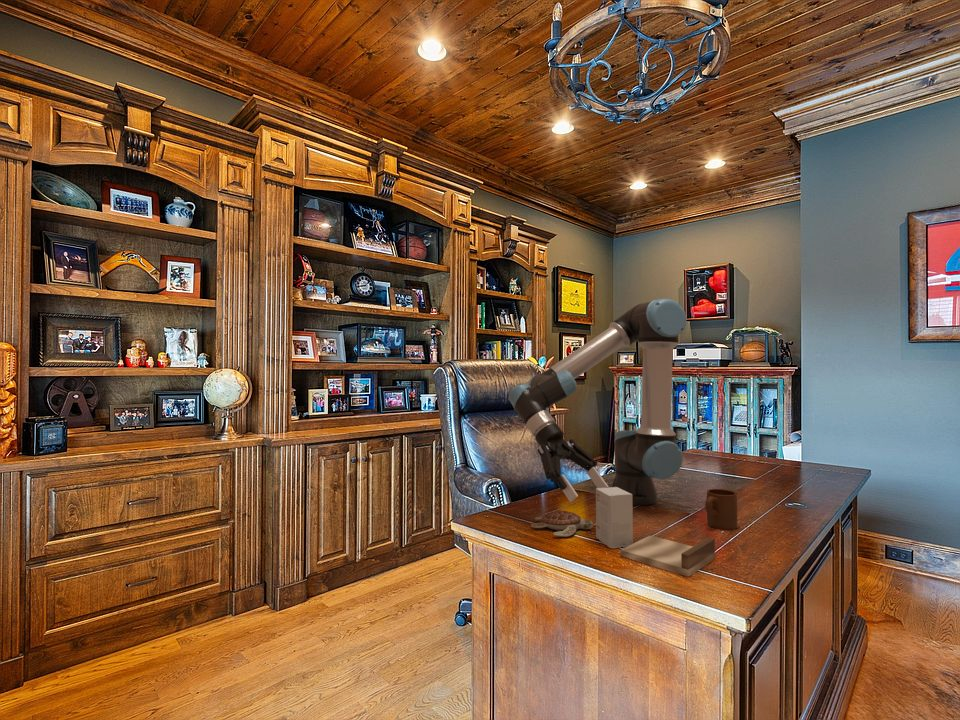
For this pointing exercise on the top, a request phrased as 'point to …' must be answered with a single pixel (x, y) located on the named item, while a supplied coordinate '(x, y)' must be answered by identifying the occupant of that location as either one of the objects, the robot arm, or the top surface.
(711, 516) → the mug
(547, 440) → the robot arm
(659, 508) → the top surface
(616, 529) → the small box
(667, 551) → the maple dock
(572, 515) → the decorative turtle
